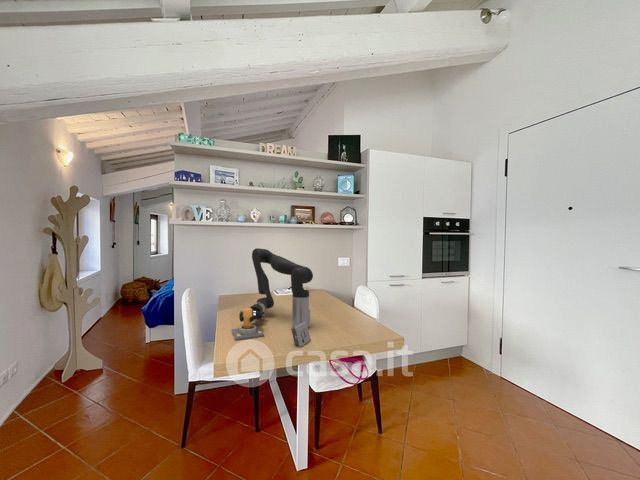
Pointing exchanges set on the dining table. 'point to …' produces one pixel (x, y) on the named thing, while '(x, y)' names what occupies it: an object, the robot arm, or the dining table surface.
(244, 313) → the wire nut
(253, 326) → the grey square mounting plate
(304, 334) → the electrical switch
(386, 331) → the dining table surface
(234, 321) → the dining table surface
